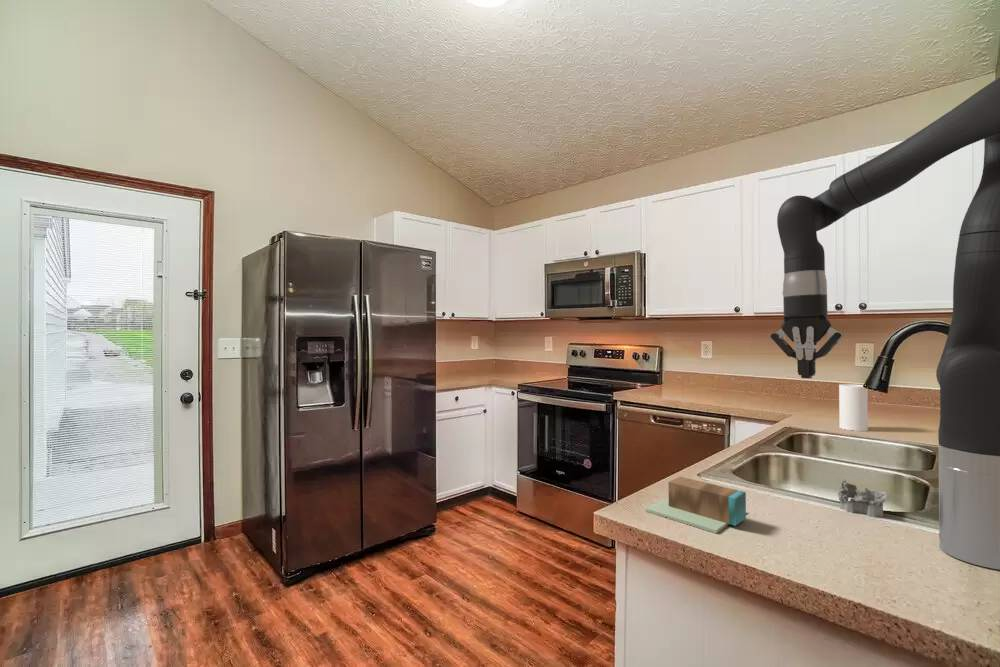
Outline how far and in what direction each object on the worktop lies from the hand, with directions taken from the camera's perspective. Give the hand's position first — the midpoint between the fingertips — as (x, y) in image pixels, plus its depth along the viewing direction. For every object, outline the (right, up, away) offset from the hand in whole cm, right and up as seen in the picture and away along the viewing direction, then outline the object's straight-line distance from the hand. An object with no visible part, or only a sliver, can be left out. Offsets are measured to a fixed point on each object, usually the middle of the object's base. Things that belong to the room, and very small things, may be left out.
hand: (806, 378), depth 93 cm
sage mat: (-24, -27, -2) cm, 36 cm away
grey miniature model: (+11, -27, 0) cm, 29 cm away
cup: (+66, -26, +72) cm, 101 cm away
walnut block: (-18, -24, -9) cm, 31 cm away
